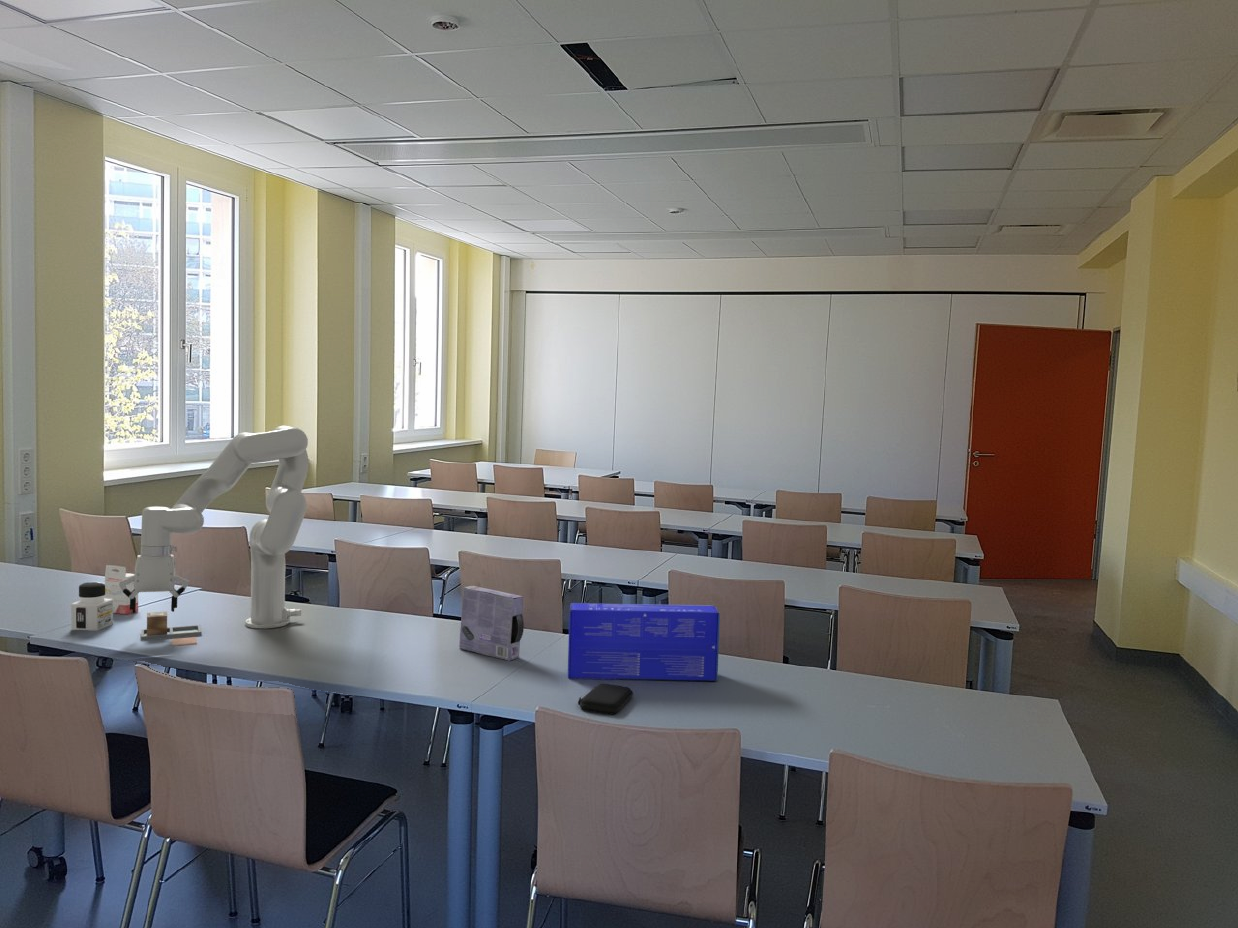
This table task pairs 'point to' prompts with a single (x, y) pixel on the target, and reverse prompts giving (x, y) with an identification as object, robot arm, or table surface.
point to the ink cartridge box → (118, 589)
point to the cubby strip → (174, 632)
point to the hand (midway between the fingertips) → (153, 611)
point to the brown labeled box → (156, 623)
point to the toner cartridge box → (643, 642)
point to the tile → (184, 641)
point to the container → (91, 608)
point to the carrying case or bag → (605, 699)
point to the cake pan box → (491, 622)
